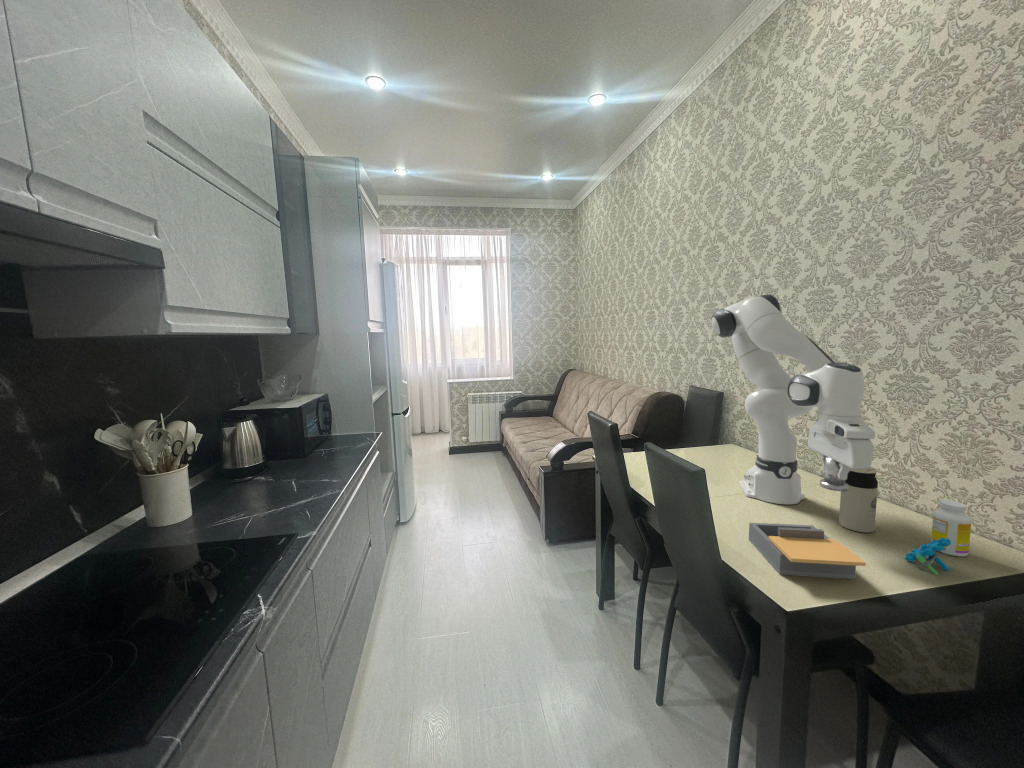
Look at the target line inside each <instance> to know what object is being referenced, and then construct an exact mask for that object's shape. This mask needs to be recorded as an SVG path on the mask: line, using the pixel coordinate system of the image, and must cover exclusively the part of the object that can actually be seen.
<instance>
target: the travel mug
mask: <svg viewBox="0 0 1024 768" xmlns="http://www.w3.org/2000/svg"><path fill="white" fill-rule="evenodd" d="M878 472H879V471H878V469H877V468H875V467H872V466H870V467H869V468H868V469H867V470H857V469H851V470H850V471H849V473H848V475H847V479H846V480H845V483H847V484H848V485H849V487H848V491H840V501H839V514H838V515H839V516H838V517H839V519H838V524H839V525H840V526H841V527H843V528H845V529H847V530H850V531H853V532H858V533H865V534H866V533H869V534H870V533H874V532H875V528H876V516H877V502H878V488H879V480H878V479H877V477H876V475H877V473H878Z"/></svg>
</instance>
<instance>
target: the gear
mask: <svg viewBox="0 0 1024 768" xmlns="http://www.w3.org/2000/svg"><path fill="white" fill-rule="evenodd" d="M950 542H951V541H950V540H949V539H948V538H946V539H944V538H941V539H939V540H937V541H936V540H933V541H931V540H930V542H929V543H927V544H926V543H924V544H921V545H920V546H919V548H914V549H911V552H908V553H906V554H905V555H904V559H905V560H906V561H907V562H915V561H916V560H918V561H919V562H920V564H921V565H922V566H923V567H926V568H927V569H929V570H930V572H932V573H933V574H934V576H937V575H939V573H938V571H937V570H936V569H935V568H933V566H932V565H931V564H932V563H933V561H934V562H936V563H937V565H938V566H939V567H940V568H942V569H943V571H948V570H949V569H950V568H949V566H947V564H945V563H944V561H942V559H941V558H939V557H938V556H939V554H937V552H939V551H942V550H944V549H945V548H944V547H943V546H945V547H947V546H949V545H950V544H951V543H950ZM937 550H938V551H937ZM927 556H928V557H927ZM925 557H927V558H925Z"/></svg>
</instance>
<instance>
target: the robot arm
mask: <svg viewBox="0 0 1024 768" xmlns="http://www.w3.org/2000/svg"><path fill="white" fill-rule="evenodd" d="M711 326H712V327H711V328H712V330H713V331H714V333H715V334H716V335H717V336H719V337H721V338H729V337H731V344H732V347H733V351H734V355H735V356H736V359H737V360H738V363H739V365H740V366H741V368H742V371H743V373H744V375H745V377H746V379H747V380H748V381H749V382H750V383H752V384H754V385H755V386H757V387H758V388H759V390H755V391H754V392H751V393H750V394H748V395H747V396H746V398H745V400H744V410H745V411H746V414H747V415H748V416H749V417H750V418H751V419H752V420H753V422H754V424H755V426H756V430H757V433H758V454H756V458H755V462H754V465H753V466H752V467H750V468H748V469H747V471H746V473H744V474H743V479H741V480H739V482H738V484H739V486H740V488H741V489H742V491H743V493H744V494H745V496H746V497H749V498H753V499H757V500H760V501H763V502H766V503H771V504H777V505H797V504H799V503H800V502H801V501H802V500H804V499H806V495H805V494H803V493H802V481H801V479H802V478H801V475H800V474H799V473H798V472H797V471H798V467H799V464H798V460H797V447H798V439H797V437H796V435H795V434H794V433H792V431H791V429H790V427H789V419H793V418H800V417H802V416H804V415H806V414H808V413H809V412H811V411H812V409H813V407H815V408H818V414H817V418H816V419H815V420H814V421H813V424H812V425H810V427H809V431H808V432H809V433H808V439H807V446H808V449H810V450H812V451H814V452H816V453H819V454H820V456H819V457H820V461H821V463H822V471H825V458H826V456H827V457H829V458H831V459H833V460H835V461H837V462H839V466H840V467H841V468H840V470H839V471H836V474H837V475H836V477H837V478H839V479H841V480H846V479H847V475H848V473H849V471H850V470H851V469H857V470H867V469H868V468H869V467H872V463H873V455H874V444H873V441H872V440H874V439H875V437H876V431H875V430H874V429H873V428H871V427H870V426H868V424H867V423H866V422H865V421H863V420H862V418H863V417H862V415H863V414H862V410H861V406H862V402H863V401H864V395H865V394H864V393H865V376H864V373H863V370H862V368H860V367H859V366H857V365H855V364H851V363H847V362H845V363H843V362H835V361H834V360H833V359H832V357H830V355H828V354H827V353H826V352H825V351H824V350H823V349H822V348H821V347H820V346H819V345H818V344H817V343H816V342H815V341H813V340H812V339H811V338H810V337H809V336H807V335H805V334H804V333H803V332H801V331H800V330H798V328H796V327H795V326H794V325H792V323H790V321H789V320H788V319H786V317H785V316H784V315H783V313H782V310H781V304H780V302H779V301H778V298H776V297H775V296H774V295H773V294H760V295H758V296H754V297H751V298H747V299H744V300H740V301H738V302H737V303H733V304H731V305H729V306H726V307H724V308H720V309H718V310H716V311H714V312H713V314H712V315H711ZM776 354H779V355H784V356H787V357H791V358H793V359H796V360H797V361H800V362H801V363H802V364H803V365H804V366H805V367H806V369H808V371H809V372H804V373H799V374H795V375H794V376H793V377H791V376H790V375H789V374H788V373H787V372H786V370H785V369H784V368H783V367H782V365H781V364H780V362H779V360H778V358H777V356H776Z"/></svg>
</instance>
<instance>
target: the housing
mask: <svg viewBox="0 0 1024 768" xmlns="http://www.w3.org/2000/svg"><path fill="white" fill-rule="evenodd" d="M748 525H749V527H748V541H749V542H750V543H751V544H752V545H753V547H755V548H756V550H757V551H758V552H759V554H761V555H762V557H764V558H765V560H766V561H767V563H769V565H770V566H771V567H772V568H773V569H774V570H775V571H776V572H777V574H778V575H784V576H798V577H815V578H828V579H829V578H830V579H831V578H832V579H843V578H844V580H845V578H846V579H847V580H856V572H857V571H856V569H857V568H856V567H857V566H854V565H837V564H820V563H802V562H791V561H790V560H789V559H788V558H787V557H786V556H785V555H784V554H783V553H782V552H781V551H780V550H779V549H778V548H777V547H776V546H775V545H774V544H773V543H772V542H771V541H770V540H769V539H768V537H769V536H778V527H785V528H807V529H818V528H817V527H816V526H814V525H813V524H812V525H811V524H810V525H809V524H790V523H789V524H786V523H770V522H769V523H765V522H749V523H748ZM824 539H831V537H828V535H826V534H825V533H824Z"/></svg>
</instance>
